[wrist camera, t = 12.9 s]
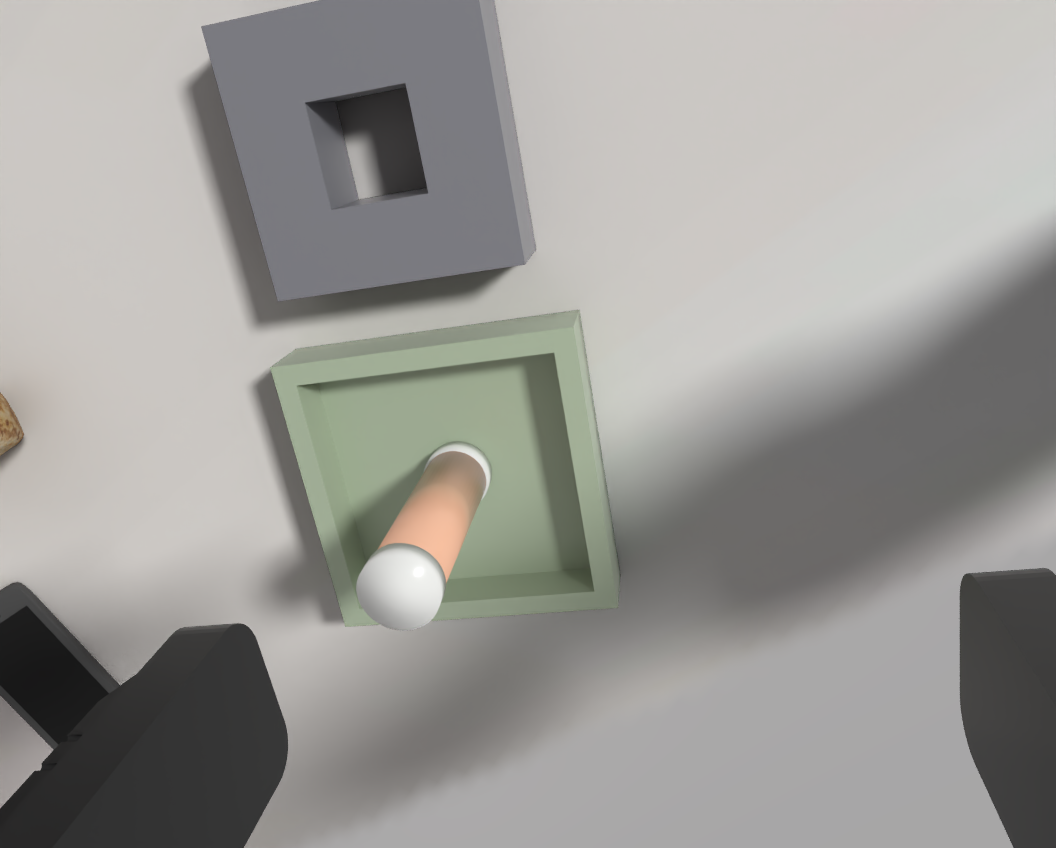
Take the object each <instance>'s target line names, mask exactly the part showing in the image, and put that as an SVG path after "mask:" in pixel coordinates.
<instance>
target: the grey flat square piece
mask: <svg viewBox="0 0 1056 848" xmlns="http://www.w3.org/2000/svg"><path fill="white" fill-rule="evenodd" d="M201 28H202V31H203V35H204V39H205V42H206V46H207V49H208V53H209V57H210V60H211V64H212V67H213V71H214V74H215V78H216V82H217V85H218V89H219V92H220V96H221V99H222V103H223V107H224V110H225V114H226V117H227V121H228V124H229V128H230V132H231V135H232V139H233V142H234V146H235V150H236V153H237V157H238V160H239V164H240V167H241V171H242V175H243V178H244V182H245V185H246V189H247V192H248V196H249V200H250V203H251V207H252V210H253V214H254V217H255V221H256V225H257V228H258V232H259V235H260V239H261V243H262V246H263V250H264V253H265V257H266V260H267V264H268V268H269V271H270V275H271V278H272V282H273V285H274V289H275V293H276V296H277V300H278V301H285V300H292V299H298V298H305V297H312V296H318V295H325V294H332V293H338V292H345V291H352V290H358V289H365V288H372V287H378V286H385V285H392V284H398V283H405V282H412V281H418V280H425V279H432V278H438V277H445V276H452V275H458V274H465V273H472V272H478V271H485V270H492V269H498V268H505V267H512V266H518V265H525V264H526V263H527V261H528V260H529V259H530V257H531V256H532V254H533V253H534V252H535V250H536V245H535V239H534V234H533V228H532V222H531V216H530V210H529V204H528V198H527V192H526V186H525V180H524V174H523V168H522V162H521V157H520V151H519V145H518V139H517V133H516V127H515V121H514V115H513V109H512V103H511V97H510V91H509V85H508V79H507V74H506V68H505V62H504V56H503V50H502V44H501V38H500V32H499V26H498V20H497V14H496V8H495V2H494V0H319V1H314V2H310V3H305V4H301V5H296V6H292V7H287V8H283V9H278V10H274V11H269V12H265V13H260V14H256V15H251V16H247V17H242V18H238V19H233V20H229V21H224V22H219V23H215V24H210V25H206V26H201ZM401 88H407V93H408V98H409V102H410V107H411V112H412V117H413V122H414V126H415V131H416V136H417V141H418V146H419V151H420V155H421V160H422V165H423V170H424V175H425V179H426V184H427V188H423V189H417V190H412V191H406V192H400V193H394V194H388V195H382V196H377V197H371V198H365V199H358V195H357V190H356V186H355V182H354V178H353V174H352V169H351V165H350V161H349V157H348V152H347V148H346V144H345V140H344V135H343V131H342V127H341V123H340V118H339V114H338V110H337V106H336V102H335V101H340V100H345V99H350V98H355V97H360V96H365V95H370V94H375V93H380V92H385V91H391V90H396V89H401Z"/></svg>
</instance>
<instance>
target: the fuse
mask: <svg viewBox="0 0 1056 848" xmlns="http://www.w3.org/2000/svg"><path fill="white" fill-rule="evenodd" d="M491 479H492V468H491V464H490V462H489V460H488V458H487V456H486V455H485V454H484V453H483V452H482V451H481V450H480V449H479V448H478V447H476V446H474V445H472V444H470V443H467V442H462V441H452V442H448V443H445V444H443V445H441V446H440V447H438V448H437V449H436V450H435V451H434V452H433V454H432V455H431V457H430V459H429V460H428V462H427V464H426V466H425V468H424V473H423V474H422V476H421V478H420V479H419V481H418V483H417V484H416V486H415V488H414V489H413V491H412V493H411V494H410V496H409V498H408V499H407V501H406V503H405V504H404V506H403V508H402V509H401V511H400V513H399V514H398V516H397V518H396V519H395V521H394V523H393V524H392V526H391V528H390V529H389V531H388V533H387V534H386V536H385V538H384V539H383V541H382V543H381V545H380V546H379V548H378V550H376V551H375V552H374V553H373V554H372V555H371V556H370V558H369V559H368V561H367V563H366V564H365V566H364V568H363V569H362V571H361V573H360V574H359V577H358V580H357V585H356V592H357V597H358V600H359V603H360V605H361V607H362V608H363V610H364V611H365V612H366V613H367V615H368V616H369V617H371V618H372V619H373V620H374V621H376V622H377V623H379V624H381V625H383V626H385V627H387V628H390V629H395V630H402V631H404V630H414V629H418V628H420V627H422V626H424V625H426V624H427V623H429V622H430V621H431V620H432V619H433V618H434V616H435V615H436V613H437V611H438V609H439V606H440V604H441V602H442V599H443V597H444V594H445V591H446V583H447V580H448V578H449V576H450V573H451V571H452V568H453V566H454V564H455V561H456V559H457V556H458V554H459V552H460V549H461V547H462V544H463V542H464V540H465V537H466V535H467V533H468V530H469V528H470V525H471V523H472V521H473V518H474V516H475V513H476V511H477V509H478V506H479V504H480V501H481V500H482V499H483V498H484V496H485V495H486V492H487V490H488V488H489V485H490V483H491Z"/></svg>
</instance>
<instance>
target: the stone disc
mask: <svg viewBox="0 0 1056 848" xmlns="http://www.w3.org/2000/svg"><path fill="white" fill-rule="evenodd" d="M23 436H24V433H23V431H22V428H21V426H20V424H19V422H18V420H17V417H16V416H15V414H14V412H13V410H12V408H11V407H10V405H9V403H8V402H7V400H6V399H5V398H4V396H3V395H2V394H1V393H0V456H1V455H2V454H4V453H5V452H6V451H8V450H9V449H10V448H12V447H13V446H15V445H17V444H18V443H19V442H20V441H21V439H22V438H23Z"/></svg>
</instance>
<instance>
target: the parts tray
mask: <svg viewBox="0 0 1056 848" xmlns="http://www.w3.org/2000/svg"><path fill="white" fill-rule="evenodd" d="M270 369H271V372H272V376H273V379H274V383H275V386H276V390H277V393H278V397H279V400H280V403H281V407H282V410H283V414H284V417H285V421H286V424H287V427H288V431H289V434H290V438H291V441H292V445H293V448H294V452H295V455H296V458H297V462H298V465H299V469H300V472H301V476H302V479H303V483H304V486H305V489H306V493H307V496H308V500H309V503H310V507H311V510H312V513H313V517H314V520H315V524H316V527H317V531H318V534H319V538H320V541H321V544H322V548H323V551H324V555H325V558H326V562H327V565H328V568H329V572H330V575H331V579H332V582H333V586H334V589H335V593H336V596H337V599H338V603H339V606H340V610H341V613H342V617H343V620H344V623H345V627H351V626H366V625H380V624H379V623H377V622H376V621H374V620H373V619H372V618H371V617H369V616H368V615H367V613H366V612H365V611H364V610H363V608H362V607H361V605H360V603H359V600H358V597H357V592H356V585H357V580H358V577H359V574H360V573H361V571H362V569H363V568H364V566H365V564H366V563H367V561H368V559H369V558H370V556H371V555H372V554H373V553H374V552H375V551H376V550H378V548H379V546H380V545H381V543H382V541H383V539H384V538H385V536H386V534H387V533H388V531H389V529H390V528H391V526H392V524H393V523H394V521H395V519H396V518H397V516H398V514H399V513H400V511H401V509H402V508H403V506H404V504H405V503H406V501H407V499H408V498H409V496H410V494H411V493H412V491H413V489H414V488H415V486H416V484H417V483H418V481H419V479H420V478H421V476H422V474H423V473H424V468H425V466H426V464H427V462H428V460H429V459H430V457H431V455H432V454H433V452H434V451H435V450H436V449H437V448H438V447H440V446H441V445H443V444H445V443H448V442H452V441H462V442H467V443H470V444H472V445H474V446H476V447H478V448H479V449H480V450H481V451H482V452H483V453H484V454H485V455H486V456H487V458H488V460H489V462H490V464H491V468H492V479H491V483H490V485H489V488H488V490H487V492H486V495H485V496H484V498H483V499H482V500H481V501H480V504H479V506H478V509H477V511H476V513H475V516H474V518H473V521H472V523H471V525H470V528H469V530H468V533H467V535H466V537H465V540H464V542H463V544H462V547H461V549H460V552H459V554H458V556H457V559H456V561H455V564H454V566H453V568H452V571H451V573H450V576H449V578H448V580H447V583H446V591H445V594H444V597H443V599H442V602H441V604H440V606H439V609H438V611H437V613H436V615H435V616H434V618H433V619H432V620H431V621H438V620H452V619H466V618H481V617H495V616H510V615H524V614H538V613H553V612H567V611H582V610H596V609H610V608H618V602H619V588H620V569H619V563H618V556H617V550H616V543H615V537H614V530H613V524H612V517H611V511H610V504H609V498H608V492H607V485H606V479H605V472H604V466H603V459H602V453H601V446H600V440H599V433H598V427H597V421H596V414H595V408H594V401H593V395H592V388H591V382H590V375H589V369H588V362H587V356H586V350H585V343H584V337H583V330H582V324H581V317H580V311H579V310H575V311H568V312H561V313H553V314H546V315H539V316H531V317H524V318H517V319H510V320H502V321H495V322H488V323H481V324H473V325H466V326H459V327H452V328H444V329H437V330H430V331H423V332H415V333H408V334H401V335H394V336H386V337H379V338H372V339H365V340H357V341H350V342H343V343H336V344H328V345H321V346H314V347H306V348H299V349H295V350H294V351H292V352H291V353H290V354H288V355H287V356H286V357H284V358H283V359H281V360H280V361H279V362H277V363H276V364H275V365H273V366H272V367H270Z"/></svg>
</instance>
